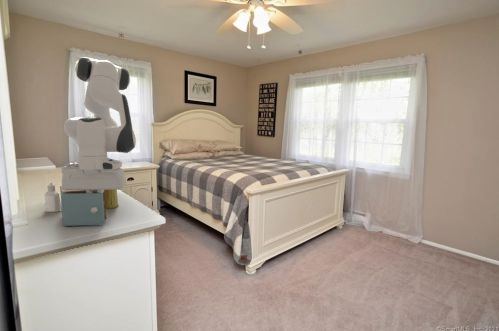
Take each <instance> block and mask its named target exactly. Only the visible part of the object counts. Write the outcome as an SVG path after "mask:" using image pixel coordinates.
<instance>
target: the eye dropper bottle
mask: <svg viewBox="0 0 499 331" xmlns="http://www.w3.org/2000/svg"><path fill="white" fill-rule="evenodd" d="M44 202H45V203H44V205H45V211H46V212H48V213H57V212H61V197H60V193H59V191H57V190H56V185H54V184H53V182H51V181H49V185H47V191H46V192H45V193H44Z"/></svg>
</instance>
